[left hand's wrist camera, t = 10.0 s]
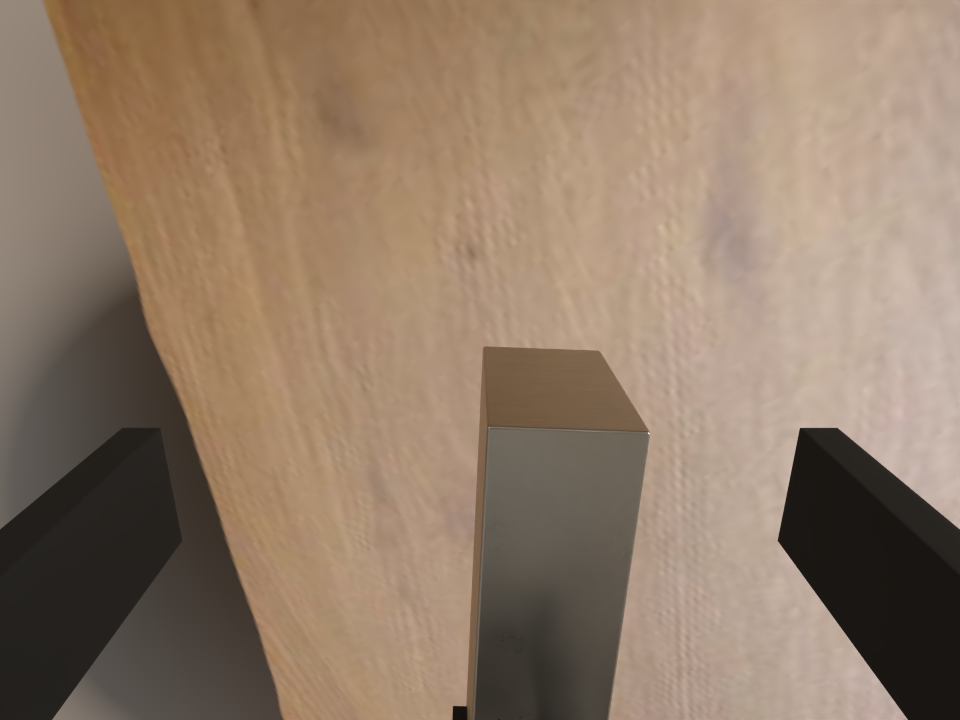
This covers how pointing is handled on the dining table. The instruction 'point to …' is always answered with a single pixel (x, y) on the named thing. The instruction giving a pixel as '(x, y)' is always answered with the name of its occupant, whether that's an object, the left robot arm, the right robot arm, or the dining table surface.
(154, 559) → the left robot arm
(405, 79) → the dining table surface
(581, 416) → the bar
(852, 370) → the dining table surface
